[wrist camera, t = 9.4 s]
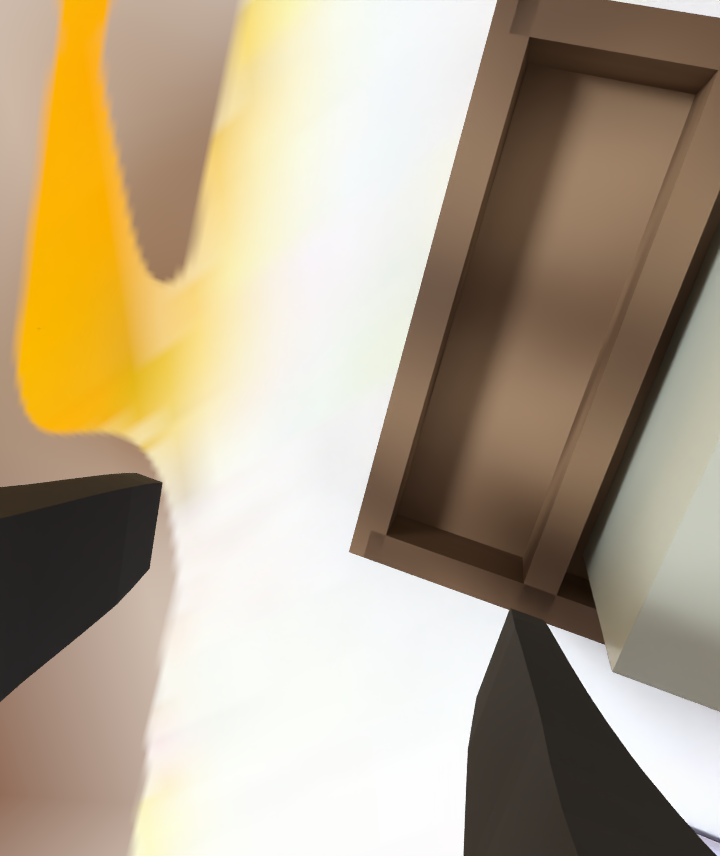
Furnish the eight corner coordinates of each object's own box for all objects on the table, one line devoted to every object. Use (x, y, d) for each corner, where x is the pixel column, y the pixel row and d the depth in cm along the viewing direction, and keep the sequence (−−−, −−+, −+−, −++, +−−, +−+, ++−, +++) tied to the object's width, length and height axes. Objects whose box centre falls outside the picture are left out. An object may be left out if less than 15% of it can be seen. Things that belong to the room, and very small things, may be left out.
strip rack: (889, 705, 18) (944, 767, 15) (367, 523, 21) (348, 552, 19) (1247, 154, 13) (1400, 126, 11) (504, 25, 16) (501, -17, 14)
